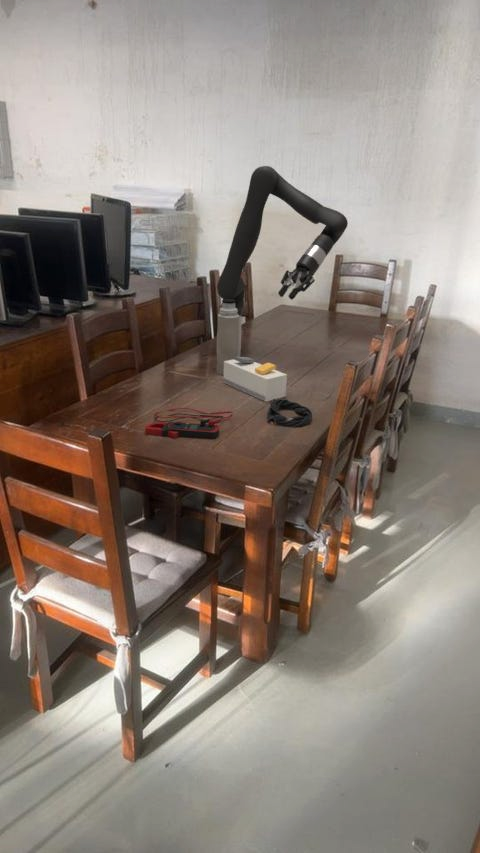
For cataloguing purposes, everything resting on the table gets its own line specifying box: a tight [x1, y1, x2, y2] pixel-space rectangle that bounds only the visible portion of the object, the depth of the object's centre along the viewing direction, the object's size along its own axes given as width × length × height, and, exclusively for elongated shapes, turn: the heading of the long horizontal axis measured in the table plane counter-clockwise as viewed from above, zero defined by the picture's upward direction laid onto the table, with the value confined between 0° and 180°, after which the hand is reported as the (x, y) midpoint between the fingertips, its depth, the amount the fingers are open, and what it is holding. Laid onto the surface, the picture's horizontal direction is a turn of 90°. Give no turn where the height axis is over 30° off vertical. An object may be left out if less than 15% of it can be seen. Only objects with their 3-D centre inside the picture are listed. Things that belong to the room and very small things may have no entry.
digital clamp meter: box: [144, 407, 234, 440], centre depth 180 cm, size 23×4×25 cm
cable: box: [266, 398, 313, 428], centre depth 187 cm, size 17×14×4 cm
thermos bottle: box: [216, 299, 239, 376], centre depth 222 cm, size 8×8×28 cm
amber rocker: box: [255, 362, 277, 375], centre depth 203 cm, size 4×6×2 cm, turn 128°
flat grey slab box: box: [234, 356, 255, 364], centre depth 211 cm, size 4×6×2 cm, turn 128°
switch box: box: [222, 359, 288, 402], centre depth 209 cm, size 24×9×8 cm, turn 38°
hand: (285, 296), depth 214 cm, fingers open, 5 cm apart
